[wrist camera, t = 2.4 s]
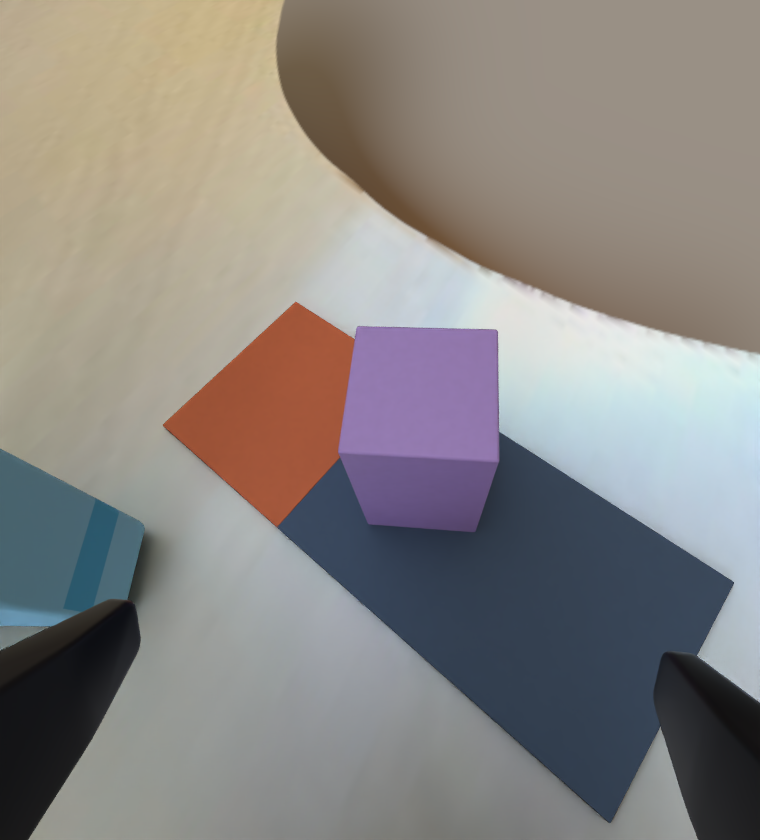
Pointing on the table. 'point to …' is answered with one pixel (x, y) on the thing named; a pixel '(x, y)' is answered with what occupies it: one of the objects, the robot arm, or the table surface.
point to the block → (422, 425)
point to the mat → (470, 563)
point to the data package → (59, 547)
